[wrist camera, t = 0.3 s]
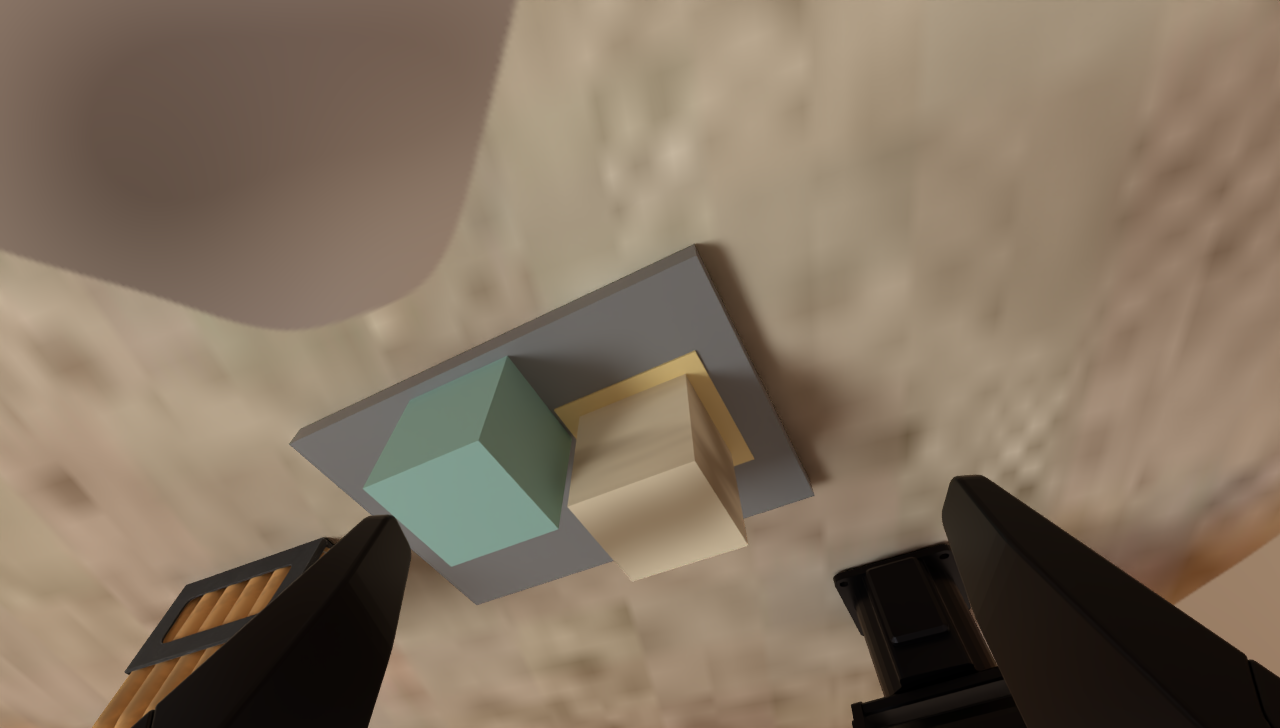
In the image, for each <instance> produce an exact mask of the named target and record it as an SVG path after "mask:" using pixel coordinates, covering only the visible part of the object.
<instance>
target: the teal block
mask: <svg viewBox="0 0 1280 728" xmlns="http://www.w3.org/2000/svg"><path fill="white" fill-rule="evenodd" d="M571 442H572V438H571V437H570V435H569V434H568V433H567V431H566V430H565V429H564V428H563V426H562V425H561V424H560V422H559V421H558V420H557V419H556V417H555V416H554V415H553V413H552V412H551V411H550V410H549V408H548V407H547V406H546V404H545V403H544V402H543V401H542V399H541V398H540V397H539V395H538V394H537V393H536V392H535V390H534V389H533V388H532V387H531V385H530V384H529V383H528V381H527V380H526V379H525V378H524V376H523V375H522V374H521V372H520V371H519V370H518V369H517V367H516V366H515V365H514V363H513V362H512V361H511V360H510V358H509V357H508V356H505V357H503V358H501V359H499V360H497V361H495V362H492V363H490V364H488V365H486V366H484V367H481V368H479V369H477V370H475V371H473V372H470V373H468V374H466V375H464V376H462V377H459V378H457V379H455V380H453V381H451V382H449V383H446V384H444V385H442V386H440V387H438V388H435V389H433V390H431V391H429V392H427V393H424V394H422V395H420V396H418V397H416V398H413V399H411V400H410V401H409V403H408V404H407V406H406V408H405V410H404V412H403V414H402V416H401V417H400V419H399V421H398V423H397V425H396V427H395V429H394V431H393V432H392V434H391V436H390V438H389V440H388V442H387V444H386V446H385V447H384V449H383V451H382V453H381V455H380V457H379V459H378V461H377V462H376V464H375V466H374V468H373V470H372V472H371V474H370V476H369V477H368V479H367V481H366V483H365V485H364V487H363V490H365V491H366V492H367V493H368V494H369V495H370V496H371V497H373V498H374V499H375V500H376V501H377V502H378V503H379V504H380V505H382V506H383V507H384V508H385V509H386V510H387V511H388V512H390V513H391V514H392V515H393V516H394V517H395V518H396V519H398V520H399V521H400V522H401V523H402V524H403V525H404V526H405V527H407V528H408V529H409V530H410V531H411V532H412V533H413V534H415V535H416V536H417V537H418V538H419V539H420V540H421V541H422V542H424V543H425V544H426V545H427V546H428V547H429V548H430V549H432V550H433V551H434V552H435V553H436V554H437V555H438V556H439V557H441V558H442V559H443V560H444V561H445V562H446V563H447V564H449V565H450V566H451V567H452V566H455V565H458V564H461V563H464V562H466V561H469V560H472V559H475V558H478V557H481V556H484V555H486V554H489V553H492V552H495V551H498V550H501V549H503V548H506V547H509V546H512V545H515V544H518V543H521V542H523V541H526V540H529V539H532V538H535V537H538V536H541V535H543V534H546V533H549V532H552V531H555V530H558V529H559V523H560V517H561V510H562V503H563V496H564V489H565V482H566V476H567V469H568V462H569V455H570V448H571Z"/></svg>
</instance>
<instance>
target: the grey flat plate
mask: <svg viewBox="0 0 1280 728" xmlns="http://www.w3.org/2000/svg"><path fill="white" fill-rule="evenodd" d="M505 356H508V357H509V358H510V360H511V361H512V362H513V363H514V365H515V366H516V367H517V369H518V370H519V371H520V372H521V374H522V375H523V376H524V378H525V379H526V380H527V381H528V383H529V384H530V385H531V387H532V388H533V389H534V390H535V392H536V393H537V394H538V395H539V397H540V398H541V399H542V401H543V402H544V403H545V404H546V406H547V407H548V408H549V410H550V411H551V412H552V413H553V415H554V416H555V417H556V419H557V420H558V421H559V422H560V424H561V425H562V426H563V428H564V429H565V430H566V431H567V433H568V434H569V435H570V437H571V438H572V442H571V448H570V455H569V462H568V469H567V476H566V482H565V489H564V496H563V503H562V510H561V517H560V523H559V529H558V530H555V531H552V532H549V533H546V534H543V535H541V536H538V537H535V538H532V539H529V540H526V541H523V542H521V543H518V544H515V545H512V546H509V547H506V548H503V549H501V550H498V551H495V552H492V553H489V554H486V555H484V556H481V557H478V558H475V559H472V560H469V561H466V562H464V563H461V564H458V565H455V566H452V567H451V566H450V565H449V564H447V563H446V562H445V561H444V560H443V559H442V558H441V557H439V556H438V555H437V554H436V553H435V552H434V551H433V550H432V549H430V548H429V547H428V546H427V545H426V544H425V543H424V542H422V541H421V540H420V539H419V538H418V537H417V536H416V535H415V534H413V533H412V532H411V531H410V530H409V529H408V528H407V527H405V526H404V525H403V524H402V523H401V522H400V521H399V520H398V519H397V521H398V523H399V525H400V527H401V529H402V531H403V533H404V535H405V537H406V539H407V540H408V542H409V545H410V548H411V549H412V550H413V551H414V552H415V553H416V554H418V555H419V556H420V557H421V558H422V559H423V560H425V561H426V562H427V563H428V564H429V565H430V566H432V567H433V568H434V569H435V570H436V571H437V572H439V573H440V574H441V575H442V576H443V577H444V578H446V579H447V580H448V581H449V582H450V583H451V584H453V585H454V586H455V587H456V588H457V589H458V590H459V591H461V592H462V593H463V594H464V595H465V596H466V597H468V598H469V599H470V600H471V601H472V602H473V603H475V604H476V605H479V604H482V603H485V602H488V601H491V600H494V599H497V598H500V597H503V596H506V595H509V594H513V593H516V592H519V591H522V590H525V589H528V588H531V587H534V586H537V585H540V584H543V583H546V582H550V581H553V580H556V579H559V578H562V577H565V576H568V575H571V574H574V573H577V572H580V571H584V570H587V569H590V568H593V567H596V566H599V565H602V564H605V563H608V562H611V561H614V560H613V559H612V558H611V557H610V556H609V555H608V553H607V552H606V551H605V550H604V549H603V548H602V546H601V545H600V544H599V543H598V542H597V541H596V539H595V538H594V537H593V536H592V535H591V534H590V533H589V531H588V530H587V529H586V528H585V527H584V526H583V524H582V523H581V522H580V521H579V520H578V519H577V517H576V516H575V515H574V514H573V513H572V512H571V511H570V509H569V508H568V507H567V505H568V498H569V491H570V483H571V476H572V469H573V462H574V454H575V447H576V440H577V432H578V425H579V418H580V416H583V415H585V414H587V413H590V412H592V411H595V410H597V409H600V408H602V407H605V406H607V405H610V404H612V403H615V402H617V401H619V400H622V399H624V398H627V397H629V396H632V395H634V394H637V393H639V392H642V391H644V390H647V389H649V388H651V387H654V386H656V385H659V384H661V383H664V382H666V381H669V380H671V379H674V378H676V377H679V376H681V375H683V374H686V376H687V377H688V379H689V381H690V383H691V384H692V386H693V388H694V390H695V391H696V393H697V395H698V397H699V398H700V400H701V402H702V403H703V405H704V407H705V409H706V410H707V412H708V414H709V416H710V417H711V419H712V421H713V423H714V424H715V426H716V428H717V429H718V431H719V433H720V435H721V436H722V438H723V440H724V442H725V443H726V445H727V447H728V449H729V450H730V452H731V454H732V459H733V465H734V470H735V475H736V481H737V486H738V492H739V497H740V502H741V508H742V513H743V519H744V518H747V517H750V516H753V515H756V514H760V513H763V512H766V511H769V510H772V509H775V508H778V507H781V506H784V505H787V504H790V503H793V502H797V501H800V500H803V499H806V498H809V497H812V496H815V495H814V492H813V489H812V486H811V483H810V480H809V478H808V476H807V474H806V472H805V470H804V468H803V466H802V464H801V462H800V460H799V458H798V456H797V454H796V452H795V450H794V447H793V445H792V443H791V441H790V439H789V437H788V435H787V433H786V431H785V429H784V427H783V425H782V423H781V421H780V419H779V417H778V415H777V413H776V411H775V409H774V407H773V404H772V402H771V400H770V398H769V396H768V394H767V392H766V390H765V388H764V386H763V384H762V382H761V380H760V378H759V376H758V374H757V372H756V370H755V368H754V366H753V364H752V362H751V359H750V357H749V355H748V353H747V351H746V349H745V347H744V345H743V343H742V341H741V339H740V337H739V335H738V333H737V331H736V329H735V327H734V325H733V323H732V321H731V319H730V316H729V314H728V312H727V310H726V308H725V306H724V304H723V302H722V300H721V298H720V296H719V294H718V292H717V290H716V288H715V286H714V284H713V282H712V280H711V278H710V276H709V273H708V271H707V269H706V267H705V265H704V263H703V261H702V259H701V257H700V255H699V253H698V251H697V249H696V247H695V245H692V246H689V247H687V248H685V249H683V250H681V251H679V252H677V253H674V254H672V255H670V256H668V257H666V258H664V259H662V260H660V261H657V262H655V263H653V264H651V265H649V266H647V267H645V268H643V269H640V270H638V271H636V272H634V273H632V274H630V275H628V276H625V277H623V278H621V279H619V280H617V281H615V282H613V283H611V284H608V285H606V286H604V287H602V288H600V289H598V290H596V291H594V292H591V293H589V294H587V295H585V296H583V297H581V298H579V299H577V300H574V301H572V302H570V303H568V304H566V305H564V306H562V307H559V308H557V309H555V310H553V311H551V312H549V313H547V314H545V315H542V316H540V317H538V318H536V319H534V320H532V321H530V322H528V323H525V324H523V325H521V326H519V327H517V328H515V329H513V330H511V331H508V332H506V333H504V334H502V335H500V336H498V337H496V338H493V339H491V340H489V341H487V342H485V343H483V344H481V345H479V346H476V347H474V348H472V349H470V350H468V351H466V352H464V353H462V354H459V355H457V356H455V357H453V358H451V359H449V360H447V361H444V362H442V363H440V364H438V365H436V366H434V367H432V368H430V369H427V370H425V371H423V372H421V373H419V374H417V375H415V376H413V377H410V378H408V379H406V380H404V381H402V382H400V383H398V384H396V385H393V386H391V387H389V388H387V389H385V390H383V391H381V392H378V393H376V394H374V395H372V396H370V397H368V398H366V399H364V400H361V401H359V402H357V403H355V404H353V405H351V406H349V407H347V408H344V409H342V410H340V411H338V412H336V413H334V414H332V415H330V416H327V417H325V418H323V419H321V420H319V421H317V422H315V423H312V424H310V425H308V426H306V427H304V428H302V429H300V430H299V431H298V433H297V434H296V435H295V437H294V438H293V439H292V441H291V442H290V444H289V445H291V446H292V447H293V448H294V449H295V450H296V451H298V452H299V453H300V454H301V455H302V456H303V457H305V458H306V459H307V460H308V461H309V462H310V463H311V464H313V465H314V466H315V467H316V468H317V469H318V470H320V471H321V472H322V473H323V474H324V475H325V476H327V477H328V478H329V479H330V480H331V481H332V482H334V483H335V484H336V485H337V486H338V487H339V488H341V489H342V490H343V491H344V492H345V493H346V494H348V495H349V496H350V497H351V498H352V499H353V500H355V501H356V502H357V503H358V504H359V505H360V506H362V507H363V508H364V509H365V510H366V511H367V512H369V513H370V514H371V515H386V514H389V515H392V514H391V513H390V512H388V511H387V510H386V509H385V508H384V507H383V506H382V505H380V504H379V503H378V502H377V501H376V500H375V499H374V498H373V497H371V496H370V495H369V494H368V493H367V492H366V491H365V490H363V487H364V485H365V483H366V481H367V479H368V477H369V476H370V474H371V472H372V470H373V468H374V466H375V464H376V462H377V461H378V459H379V457H380V455H381V453H382V451H383V449H384V447H385V446H386V444H387V442H388V440H389V438H390V436H391V434H392V432H393V431H394V429H395V427H396V425H397V423H398V421H399V419H400V417H401V416H402V414H403V412H404V410H405V408H406V406H407V404H408V403H409V401H410V400H411V399H413V398H416V397H418V396H420V395H422V394H424V393H427V392H429V391H431V390H433V389H435V388H438V387H440V386H442V385H444V384H446V383H449V382H451V381H453V380H455V379H457V378H459V377H462V376H464V375H466V374H468V373H470V372H473V371H475V370H477V369H479V368H481V367H484V366H486V365H488V364H490V363H492V362H495V361H497V360H499V359H501V358H503V357H505Z"/></svg>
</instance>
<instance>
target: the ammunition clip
mask: <svg viewBox="0 0 1280 728" xmlns="http://www.w3.org/2000/svg"><path fill="white" fill-rule="evenodd" d="M333 546H334V545H332V544H331V543H330V542H329V541H328V540H326V539H324V538H320V539H317V540H314V541H311V542H309V543H306V544H303V545H300V546H297V547H294V548H291V549H289V550H286V551H283V552H280V553H277V554H274V555H271V556H268V557H266V558H263V559H260V560H257V561H254V562H251V563H248V564H246V565H243V566H240V567H237V568H234V569H231V570H228V571H225V572H223V573H220V574H217V575H214V576H211V577H208V578H205V579H203V580H200V581H197V582H194V583H191V584H188V585H186V586H185V587H184V589H183V590H182V592H181V593H180V594H179V596H178V597H177V599H176V600H175V601H174V603H173V604H172V606H171V607H170V608H169V610H168V611H167V613H166V614H165V616H164V617H163V618H162V620H161V621H160V623H159V624H158V625H157V627H156V628H155V630H154V631H153V632H152V634H151V635H150V637H149V638H148V639H147V641H146V642H145V644H144V645H143V646H142V648H141V649H140V651H139V652H138V653H137V655H136V656H135V658H134V659H133V660H132V662H131V663H130V665H129V666H128V668H127V669H126V670H125V673H126V674H128V675H129V676H128V678H127V679H126V680H125V682H124V683H123V685H122V686H121V687H120V689H119V690H118V692H117V693H116V694H115V696H114V697H113V699H112V700H111V701H110V703H109V704H108V706H107V707H106V708H105V710H104V711H103V713H102V714H101V715H100V717H99V718H98V720H97V721H96V722H95V724H94V725H93V727H92V728H131V727H132V726H133V725H134V724H135V723H136V722H137V721H138V720H140V719H141V718H142V717H143V716H144V715H145V714H146V713H147V712H149V711H150V710H155V707H156V705H157V704H158V703H159V702H160V701H161V700H162V699H163V698H164V697H165V696H167V695H168V694H169V693H170V692H171V691H172V690H173V689H174V688H176V687H177V686H178V685H179V684H180V683H181V682H182V681H183V680H184V679H186V678H187V677H188V676H189V675H190V674H191V673H192V672H193V671H195V670H196V669H197V668H198V667H199V666H200V665H201V664H202V663H203V662H205V661H206V660H207V659H208V658H209V657H210V656H211V655H212V654H213V653H215V652H216V651H217V650H218V649H219V648H220V647H221V646H222V645H224V644H225V643H226V642H227V641H228V640H229V639H230V638H231V637H232V636H234V635H235V634H236V633H237V632H238V631H239V630H240V629H241V628H242V627H244V626H245V625H246V624H247V623H248V622H249V621H250V620H251V619H253V618H254V617H255V616H256V615H257V614H258V613H259V612H260V611H261V610H263V609H264V608H265V607H266V606H267V605H268V604H269V603H270V602H272V601H273V600H274V599H275V598H276V597H277V596H278V595H279V594H280V593H282V592H283V591H284V590H285V589H286V588H287V587H288V586H289V585H290V584H292V583H293V582H294V581H295V580H296V579H297V578H298V577H299V576H301V575H302V574H303V573H304V572H305V571H306V570H307V569H308V568H309V567H311V566H312V565H313V564H314V563H315V562H316V561H317V560H318V559H319V558H321V557H322V556H323V555H324V554H325V553H326V552H327V551H328V550H330V549H331V548H332V547H333Z"/></svg>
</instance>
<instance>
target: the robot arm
mask: <svg viewBox="0 0 1280 728" xmlns="http://www.w3.org/2000/svg"><path fill="white" fill-rule="evenodd" d="M942 522H943V526H944V529H945V532H946V535H947V538H948V541H949V544H950V546H949V545H947V544H941V545H937V546H934V547H930V548H927V549H923V550H919V551H916V552H912V553H909V554H905V555H902V556H898V557H895V558H891V559H888V560H884V561H881V562H877V563H874V564H870V565H867V566H863V567H860V568H856V569H853V570H849V571H846V572H842V573H839V574H836V575H835V576H834V578H833V580H834V584H835V587H836V589H837V591H838V592H839V594H840V596H841V598H842V600H843V602H844V604H845V606H846V607H847V609H848V611H849V613H850V615H851V617H852V619H853V621H854V622H855V624H856V626H857V628H858V630H859V632H860V634H861V635H862V636H864V637H865V640H866V643H867V646H868V649H869V652H870V655H871V658H872V661H873V664H874V667H875V670H876V673H877V676H878V679H879V682H880V685H881V688H882V691H883V694H884V697H883V698H880V699H876V700H872V701H869V702H865V703H862V702H857V703H854V704H851V708H852V713H853V719H854V720H853V721H852V725H853V728H1280V678H1279V677H1278V676H1277V675H1275V674H1274V673H1272V672H1271V671H1269V670H1268V669H1266V668H1265V667H1263V666H1262V665H1260V664H1259V663H1258V662H1256V661H1254V660H1248V659H1247V656H1246V655H1245V654H1244V653H1243V652H1241V651H1240V650H1238V649H1237V648H1235V647H1234V646H1232V645H1231V644H1229V643H1228V642H1226V641H1225V640H1224V639H1222V638H1221V637H1219V636H1218V635H1216V634H1215V633H1213V632H1212V631H1210V630H1209V629H1207V628H1206V627H1204V626H1203V625H1202V624H1200V623H1199V622H1197V621H1196V620H1194V619H1193V618H1191V617H1190V616H1188V615H1187V614H1185V613H1184V612H1183V611H1181V610H1180V609H1178V608H1176V607H1175V606H1174V605H1172V604H1171V603H1169V602H1168V601H1166V600H1165V599H1164V598H1162V597H1161V596H1159V595H1158V594H1156V593H1155V592H1153V591H1152V590H1150V589H1149V588H1147V587H1146V586H1144V585H1143V584H1142V583H1140V582H1139V581H1137V580H1136V579H1134V578H1133V577H1131V576H1130V575H1128V574H1127V573H1125V572H1124V571H1123V570H1121V569H1120V568H1118V567H1117V566H1115V565H1114V564H1112V563H1111V562H1109V561H1108V560H1106V559H1105V558H1104V557H1102V556H1101V555H1099V554H1098V553H1096V552H1095V551H1093V550H1092V549H1090V548H1089V547H1087V546H1086V545H1084V544H1083V543H1082V542H1080V541H1079V540H1077V539H1076V538H1074V537H1073V536H1071V535H1070V534H1068V533H1067V532H1065V531H1064V530H1063V529H1061V528H1060V527H1058V526H1057V525H1055V524H1054V523H1052V522H1051V521H1049V520H1048V519H1046V518H1045V517H1044V516H1042V515H1041V514H1039V513H1038V512H1036V511H1035V510H1033V509H1032V508H1030V507H1029V506H1027V505H1026V504H1024V503H1023V502H1022V501H1020V500H1019V499H1017V498H1016V497H1014V496H1013V495H1011V494H1010V493H1008V492H1007V491H1005V490H1004V489H1003V488H1001V487H1000V486H998V485H997V484H995V483H994V482H992V481H991V480H989V479H988V478H986V477H984V476H982V475H964V476H956V477H954V478H953V479H952V480H951V482H950V485H949V488H948V492H947V495H946V499H945V502H944V506H943V509H942ZM410 561H411V548H410V545H409V542H408V540H407V539H406V537H405V535H404V533H403V531H402V529H401V527H400V525H399V523H398V521H397V519H396V518H395V517H394V516H393V515H389V514H386V515H372V516H368V517H366V518H364V519H363V520H362V521H361V522H360V523H359V524H357V525H356V526H355V527H354V528H353V529H352V530H351V531H350V532H348V533H347V534H346V535H345V536H344V537H343V538H342V539H341V540H340V541H338V542H337V543H336V544H335V545H334V546H333V547H332V548H331V549H330V550H328V551H327V552H326V553H325V554H324V555H323V556H322V557H321V558H319V559H318V560H317V561H316V562H315V563H314V564H313V565H312V566H311V567H309V568H308V569H307V570H306V571H305V572H304V573H303V574H302V575H301V576H299V577H298V578H297V579H296V580H295V581H294V582H293V583H292V584H290V585H289V586H288V587H287V588H286V589H285V590H284V591H283V592H282V593H280V594H279V595H278V596H277V597H276V598H275V599H274V600H273V601H272V602H270V603H269V604H268V605H267V606H266V607H265V608H264V609H263V610H261V611H260V612H259V613H258V614H257V615H256V616H255V617H254V618H253V619H251V620H250V621H249V622H248V623H247V624H246V625H245V626H244V627H242V628H241V629H240V630H239V631H238V632H237V633H236V634H235V635H234V636H232V637H231V638H230V639H229V640H228V641H227V642H226V643H225V644H224V645H222V646H221V647H220V648H219V649H218V650H217V651H216V652H215V653H213V654H212V655H211V656H210V657H209V658H208V659H207V660H206V661H205V662H203V663H202V664H201V665H200V666H199V667H198V668H197V669H196V670H195V671H193V672H192V673H191V674H190V675H189V676H188V677H187V678H186V679H184V680H183V681H182V682H181V683H180V684H179V685H178V686H177V687H176V688H174V689H173V690H172V691H171V692H170V693H169V694H168V695H167V696H165V697H164V698H163V699H162V700H161V701H160V702H159V703H158V704H157V705H156V707H155V710H150V711H149V712H147V713H146V714H145V715H144V716H143V717H142V718H141V719H140V720H138V721H137V722H136V723H135V724H134V725H133V726H132V727H131V728H368V725H369V722H370V719H371V716H372V713H373V709H374V706H375V703H376V700H377V697H378V693H379V690H380V687H381V684H382V681H383V678H384V674H385V671H386V668H387V665H388V661H389V658H390V655H391V651H392V647H393V643H394V639H395V635H396V630H397V625H398V620H399V615H400V610H401V605H402V600H403V595H404V590H405V586H406V581H407V576H408V571H409V566H410ZM968 598H969V599H968ZM969 601H970V603H969ZM970 604H971V606H970ZM971 607H972V609H973V612H974V615H975V617H976V620H977V622H978V624H979V627H980V629H981V631H982V633H983V636H984V638H985V640H986V642H987V644H988V646H989V648H990V650H991V652H992V654H991V652H990V650H989V648H988V646H987V644H986V642H985V640H984V638H983V636H982V634H981V632H980V631H979V629H978V627H977V625H976V623H975V621H974V619H973V617H972V615H971V613H970V611H969V610H970V608H971ZM992 655H993V656H992ZM993 657H994V658H993ZM994 659H995V660H994ZM995 661H996V662H995ZM996 663H997V664H996ZM997 665H998V666H997Z"/></svg>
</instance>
